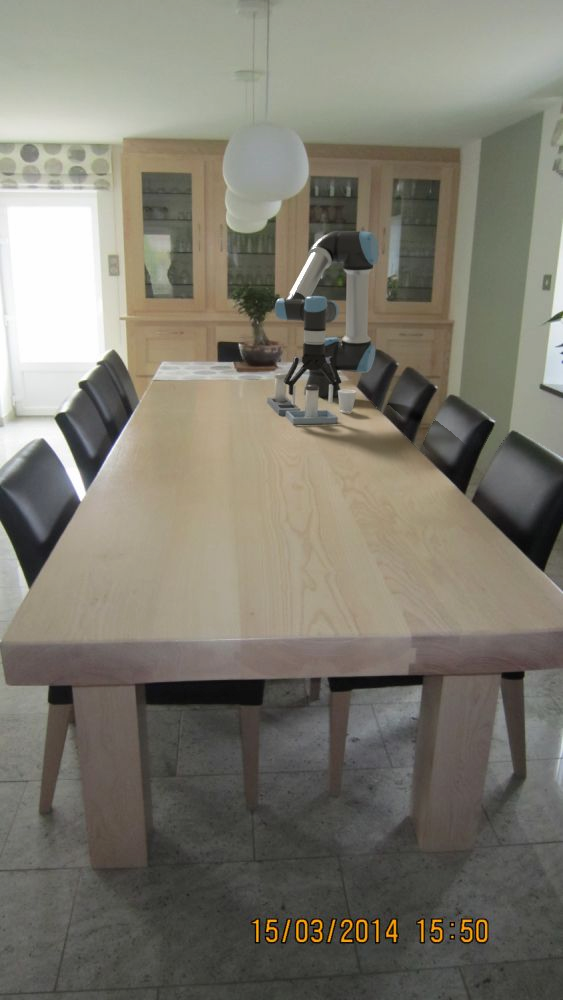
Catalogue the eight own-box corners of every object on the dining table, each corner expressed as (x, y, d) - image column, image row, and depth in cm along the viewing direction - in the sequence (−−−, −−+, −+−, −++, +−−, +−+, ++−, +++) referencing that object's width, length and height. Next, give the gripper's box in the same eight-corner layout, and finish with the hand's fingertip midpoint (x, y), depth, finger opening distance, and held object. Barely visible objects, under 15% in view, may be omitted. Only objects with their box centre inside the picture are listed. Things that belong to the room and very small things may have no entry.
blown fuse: (315, 417, 269) (317, 384, 265) (318, 420, 264) (320, 386, 260) (303, 418, 268) (304, 384, 264) (306, 420, 264) (307, 387, 260)
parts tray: (328, 416, 274) (328, 409, 273) (337, 424, 262) (337, 417, 262) (285, 417, 270) (285, 410, 269) (293, 425, 259) (293, 418, 258)
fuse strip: (287, 403, 294) (287, 397, 293) (300, 416, 273) (300, 409, 272) (267, 404, 292) (267, 397, 291) (278, 416, 272) (279, 409, 271)
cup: (338, 414, 278) (339, 392, 275) (333, 408, 287) (334, 387, 284) (357, 414, 278) (358, 393, 276) (351, 408, 288) (353, 387, 285)
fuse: (284, 404, 290) (285, 373, 286) (287, 406, 286) (288, 375, 282) (273, 404, 289) (273, 373, 285) (275, 406, 285) (276, 375, 281)
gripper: (345, 341, 263) (342, 400, 270) (276, 341, 258) (275, 402, 265) (352, 344, 256) (348, 405, 263) (281, 344, 251) (279, 406, 258)
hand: (311, 403), depth 264 cm, fingers open, 13 cm apart
